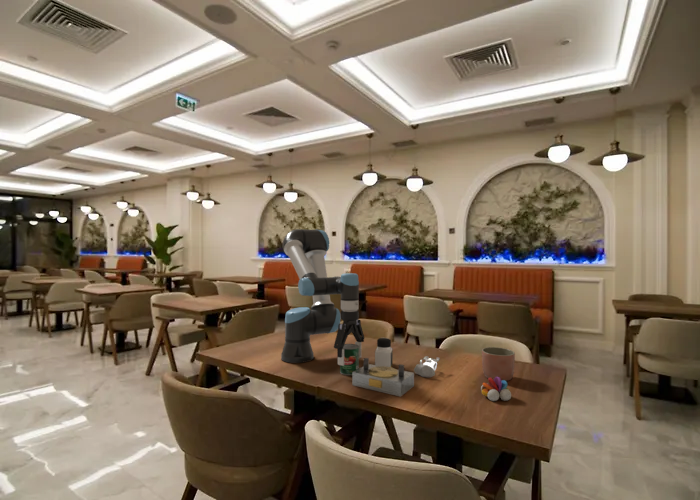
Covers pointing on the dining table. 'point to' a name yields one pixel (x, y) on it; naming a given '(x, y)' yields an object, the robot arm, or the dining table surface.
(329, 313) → the robot arm
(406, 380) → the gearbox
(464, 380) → the dining table surface
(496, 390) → the rainbow wheeled toy
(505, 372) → the planter
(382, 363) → the medicine bottle
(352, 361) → the canned tomato
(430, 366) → the figurine
